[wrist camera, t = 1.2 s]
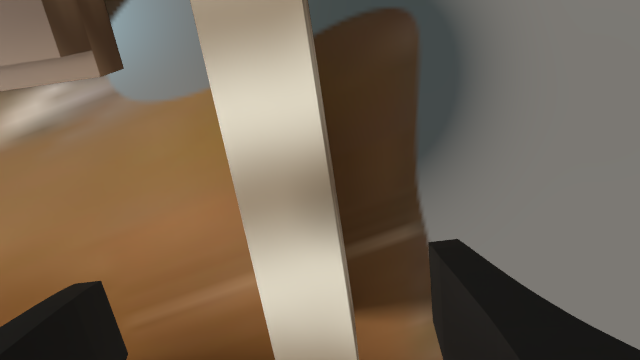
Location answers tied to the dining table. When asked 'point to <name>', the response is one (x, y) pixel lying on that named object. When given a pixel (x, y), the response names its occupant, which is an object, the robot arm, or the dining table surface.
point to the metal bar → (281, 170)
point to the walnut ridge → (55, 42)
